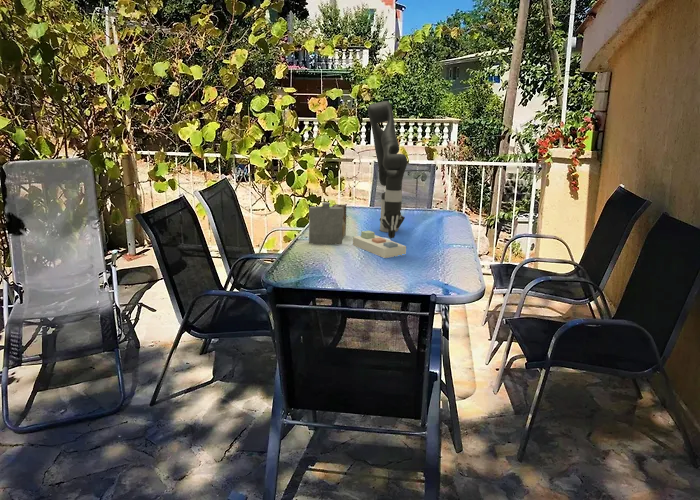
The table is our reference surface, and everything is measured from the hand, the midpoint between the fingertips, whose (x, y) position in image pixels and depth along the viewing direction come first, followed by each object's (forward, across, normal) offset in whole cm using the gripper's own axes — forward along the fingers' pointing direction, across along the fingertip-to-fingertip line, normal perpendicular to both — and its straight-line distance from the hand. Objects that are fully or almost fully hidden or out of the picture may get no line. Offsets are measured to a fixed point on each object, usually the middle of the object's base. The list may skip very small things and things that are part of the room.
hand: (391, 237), depth 241 cm
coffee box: (+8, +4, -38) cm, 40 cm away
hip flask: (+8, +16, -30) cm, 35 cm away
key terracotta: (+5, 0, -9) cm, 11 cm away
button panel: (+8, 0, -9) cm, 12 cm away
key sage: (+4, 0, -18) cm, 18 cm away
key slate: (+5, 0, 0) cm, 5 cm away
